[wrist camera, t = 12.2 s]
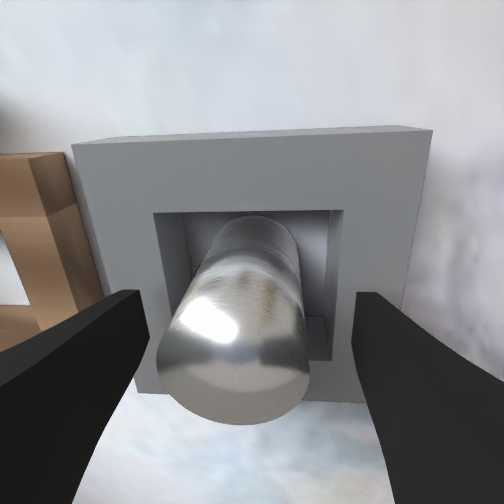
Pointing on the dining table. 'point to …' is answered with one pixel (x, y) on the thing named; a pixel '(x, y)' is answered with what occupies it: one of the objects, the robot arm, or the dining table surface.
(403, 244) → the gray square frame
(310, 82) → the dining table surface
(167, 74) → the dining table surface
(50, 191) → the socket block
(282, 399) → the steel round rod
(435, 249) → the dining table surface
